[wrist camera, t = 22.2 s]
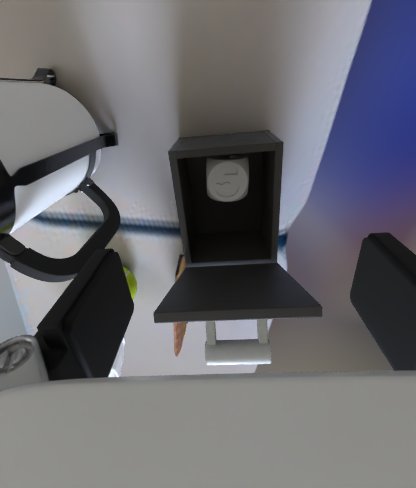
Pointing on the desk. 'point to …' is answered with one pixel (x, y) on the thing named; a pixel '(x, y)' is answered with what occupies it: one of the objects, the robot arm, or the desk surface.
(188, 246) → the hinged black storage box
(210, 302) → the lid
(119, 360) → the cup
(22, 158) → the coffee press
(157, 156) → the desk surface
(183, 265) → the ammunition clip
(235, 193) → the die
